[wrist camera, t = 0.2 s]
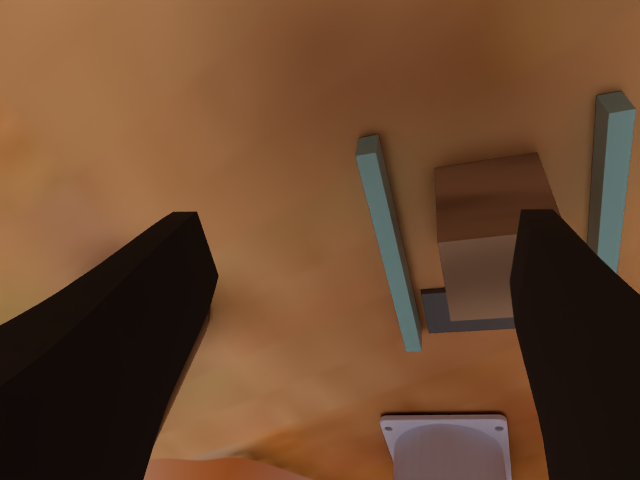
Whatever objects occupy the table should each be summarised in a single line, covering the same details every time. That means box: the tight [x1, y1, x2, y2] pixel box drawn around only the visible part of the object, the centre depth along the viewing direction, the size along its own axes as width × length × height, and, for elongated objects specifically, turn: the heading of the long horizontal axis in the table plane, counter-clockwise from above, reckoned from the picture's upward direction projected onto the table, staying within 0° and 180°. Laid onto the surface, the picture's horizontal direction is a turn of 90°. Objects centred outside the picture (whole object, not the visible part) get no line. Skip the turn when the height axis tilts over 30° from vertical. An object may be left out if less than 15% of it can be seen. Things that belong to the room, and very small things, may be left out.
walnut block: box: [435, 153, 561, 321], centre depth 19 cm, size 4×4×5 cm
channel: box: [356, 91, 636, 352], centre depth 22 cm, size 12×10×2 cm
